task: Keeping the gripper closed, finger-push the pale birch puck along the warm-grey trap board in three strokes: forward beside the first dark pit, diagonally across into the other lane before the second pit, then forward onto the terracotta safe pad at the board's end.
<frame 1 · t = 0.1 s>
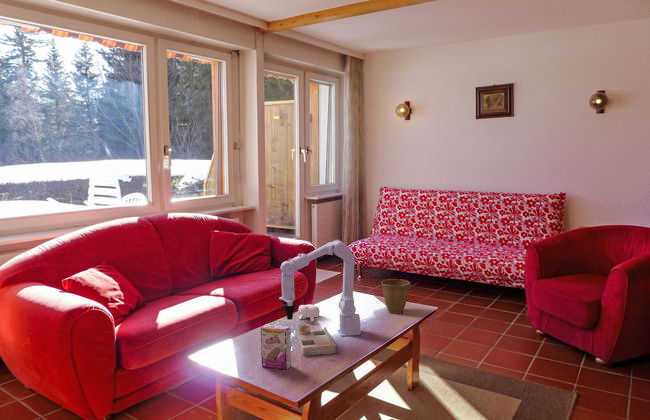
hand: (288, 316, 234), 10 cm above the table, fingers open, 7 cm apart
plant pot: (395, 311, 270), on the table
candy bar box: (276, 367, 204), on the table
trap board: (315, 343, 227), on the table
birch puck: (304, 332, 235), point 2 cm above the table, touching trap board
white animal figurine: (308, 319, 260), on the table
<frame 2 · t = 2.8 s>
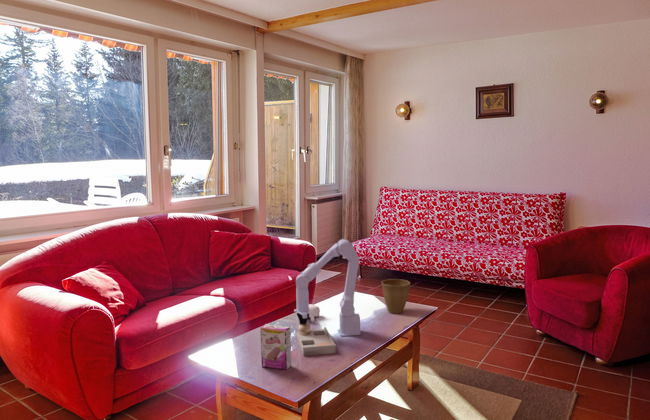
hand: (303, 328, 239), 3 cm above the table, fingers closed
birch puck: (304, 333, 235), point 2 cm above the table, touching gripper
everything else where it was.
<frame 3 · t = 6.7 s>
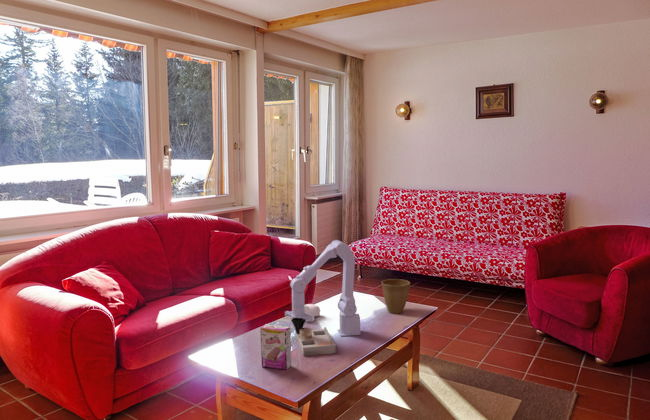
hand: (299, 333, 232), 3 cm above the table, fingers closed
birch puck: (305, 337, 230), point 2 cm above the table, touching gripper, trap board
everything else where it was.
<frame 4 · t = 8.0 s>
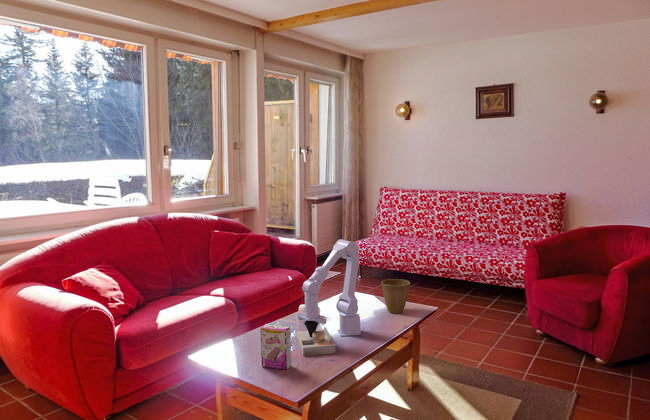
hand: (312, 336, 228), 3 cm above the table, fingers closed
birch puck: (318, 340, 225), point 2 cm above the table, touching gripper, trap board
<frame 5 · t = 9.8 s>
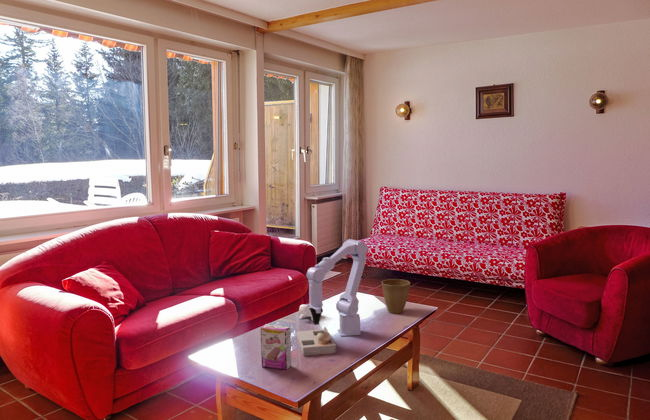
hand: (316, 324, 228), 8 cm above the table, fingers closed
birch puck: (323, 341, 224), point 2 cm above the table, touching trap board
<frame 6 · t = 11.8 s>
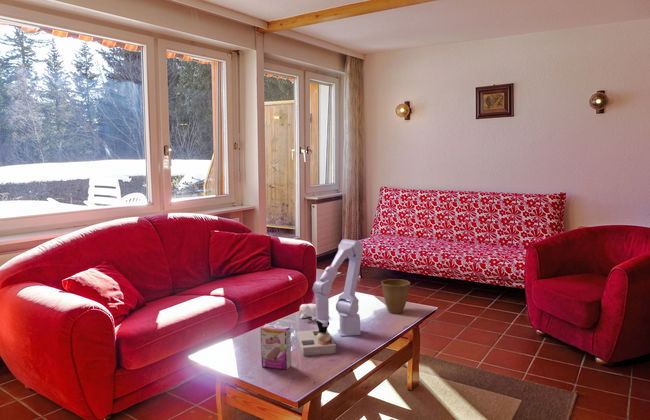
hand: (322, 337, 227), 3 cm above the table, fingers closed
birch puck: (323, 342, 223), point 2 cm above the table, touching gripper
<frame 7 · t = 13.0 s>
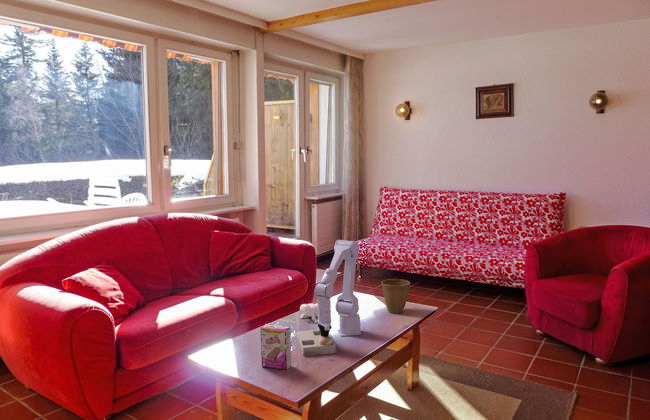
hand: (324, 340, 223), 3 cm above the table, fingers closed
birch puck: (325, 346, 219), point 2 cm above the table, touching gripper, trap board
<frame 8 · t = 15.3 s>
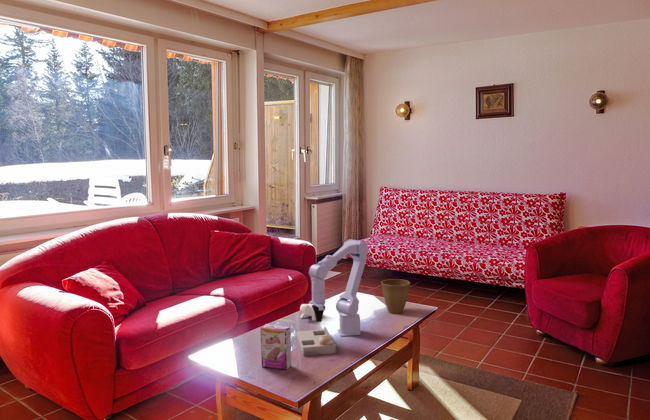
hand: (318, 321, 227), 10 cm above the table, fingers closed
birch puck: (325, 346, 219), point 2 cm above the table, touching trap board
at the end: birch puck inside the target area on the trap board (1.2 cm from its centre), point 2.0 cm above the trap board's base; birch puck tilted 0° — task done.
